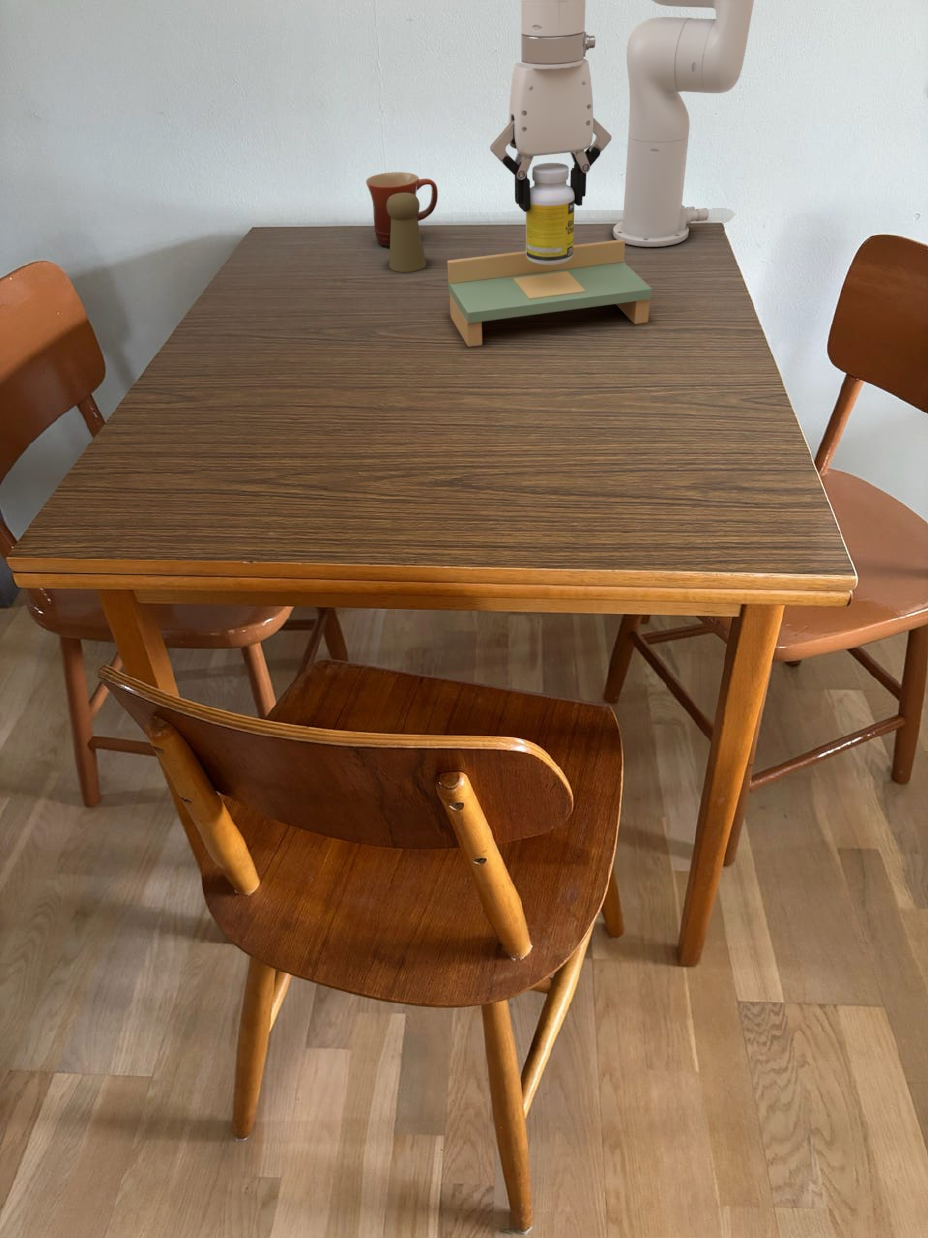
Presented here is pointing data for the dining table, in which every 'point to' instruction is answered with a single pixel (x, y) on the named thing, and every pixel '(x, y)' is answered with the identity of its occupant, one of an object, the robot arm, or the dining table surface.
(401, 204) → the pepper shaker
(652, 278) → the dining table surface
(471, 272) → the shelf
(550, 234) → the pill bottle
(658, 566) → the dining table surface
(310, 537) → the dining table surface
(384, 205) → the mug
